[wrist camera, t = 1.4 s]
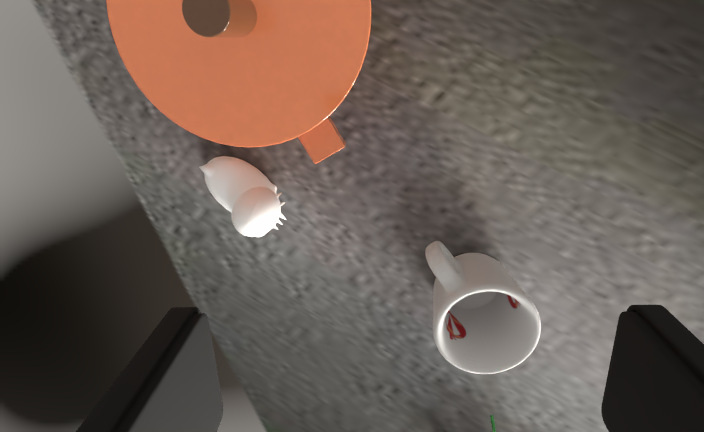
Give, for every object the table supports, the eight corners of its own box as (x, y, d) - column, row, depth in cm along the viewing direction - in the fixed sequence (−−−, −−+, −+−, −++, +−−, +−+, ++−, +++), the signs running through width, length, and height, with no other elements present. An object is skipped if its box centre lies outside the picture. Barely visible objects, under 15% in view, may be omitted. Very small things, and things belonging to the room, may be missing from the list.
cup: (389, 250, 42) (389, 296, 34) (464, 199, 39) (482, 236, 32) (457, 332, 44) (471, 391, 37) (531, 288, 42) (562, 342, 35)
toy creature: (273, 231, 42) (255, 263, 36) (200, 175, 40) (168, 199, 34) (304, 194, 40) (290, 221, 34) (229, 135, 39) (201, 152, 33)
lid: (276, -209, 24) (242, -287, 18) (418, 63, 28) (427, 70, 23) (63, -33, 28) (-22, -51, 22) (217, 184, 32) (180, 216, 26)
